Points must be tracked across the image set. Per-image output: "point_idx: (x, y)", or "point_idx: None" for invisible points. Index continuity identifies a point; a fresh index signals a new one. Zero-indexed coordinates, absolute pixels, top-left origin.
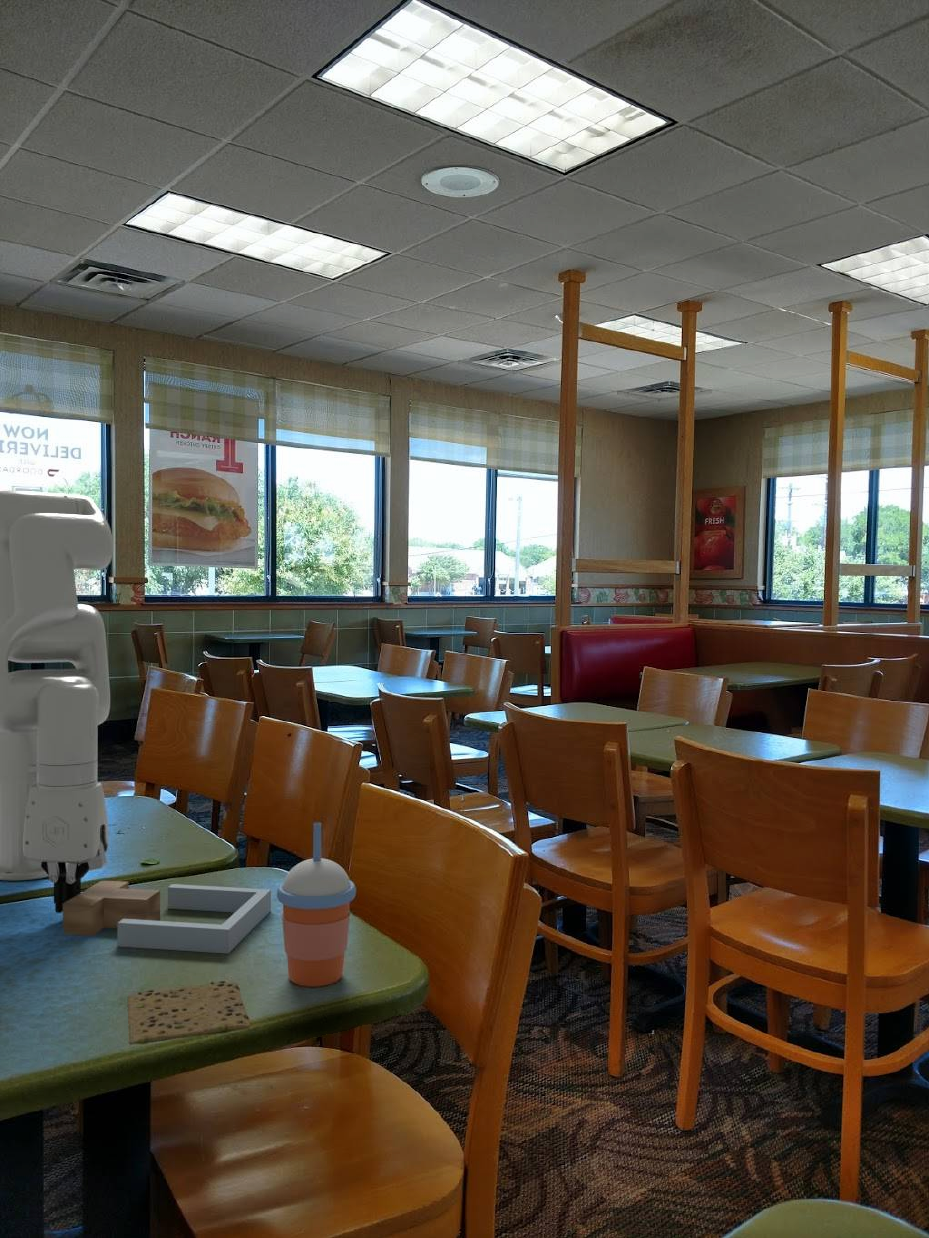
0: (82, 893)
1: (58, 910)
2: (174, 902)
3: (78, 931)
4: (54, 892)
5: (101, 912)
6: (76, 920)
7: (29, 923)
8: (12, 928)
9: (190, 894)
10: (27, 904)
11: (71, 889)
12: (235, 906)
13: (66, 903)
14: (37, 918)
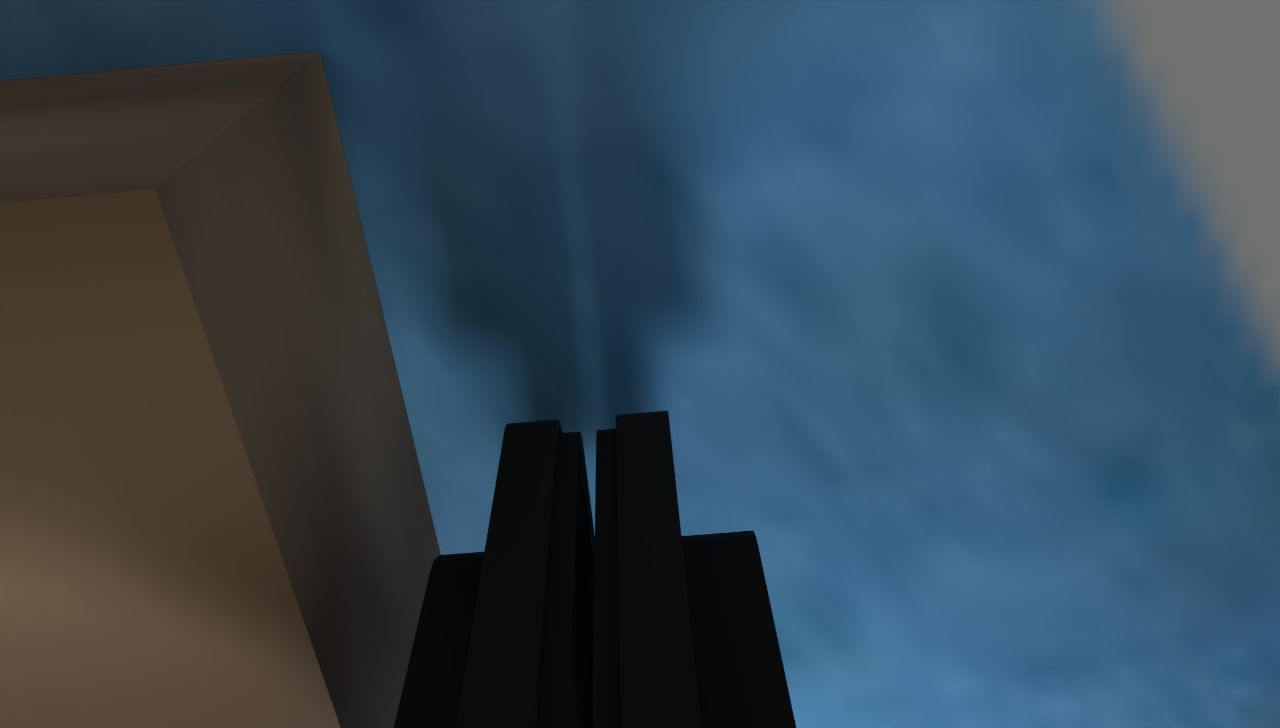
0: (290, 697)
1: (620, 421)
2: None
3: (76, 82)
4: (766, 639)
5: None
6: (26, 122)
7: (968, 262)
8: (1098, 54)
9: None
10: (1252, 685)
11: (447, 714)
12: None
13: (99, 222)
14: (958, 415)
